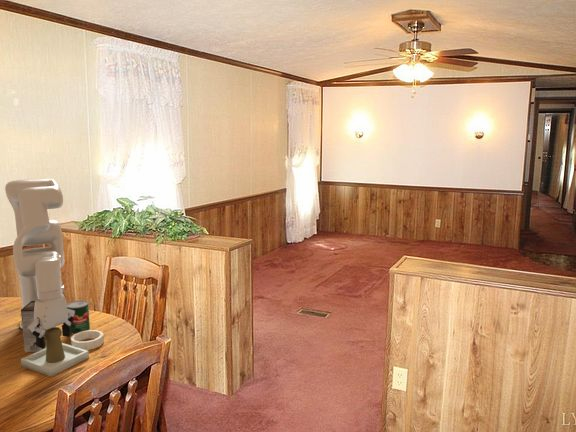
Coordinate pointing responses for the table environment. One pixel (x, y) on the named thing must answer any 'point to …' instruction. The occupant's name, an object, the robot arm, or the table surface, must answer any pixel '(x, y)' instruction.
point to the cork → (54, 345)
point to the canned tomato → (79, 316)
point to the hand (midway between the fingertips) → (54, 341)
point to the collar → (88, 334)
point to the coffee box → (29, 339)
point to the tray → (50, 369)
